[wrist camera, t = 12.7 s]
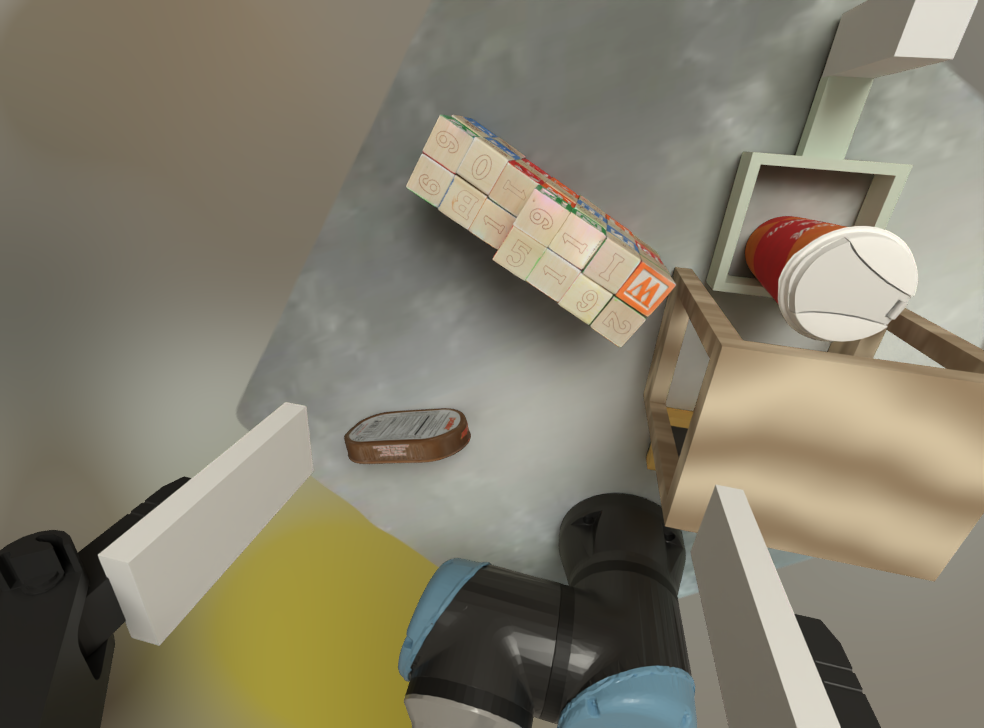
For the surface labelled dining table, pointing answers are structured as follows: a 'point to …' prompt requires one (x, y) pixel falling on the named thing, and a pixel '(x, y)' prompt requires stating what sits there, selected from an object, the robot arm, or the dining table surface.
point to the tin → (408, 436)
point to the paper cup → (832, 276)
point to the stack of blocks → (541, 228)
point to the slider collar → (849, 111)
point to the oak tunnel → (826, 438)
